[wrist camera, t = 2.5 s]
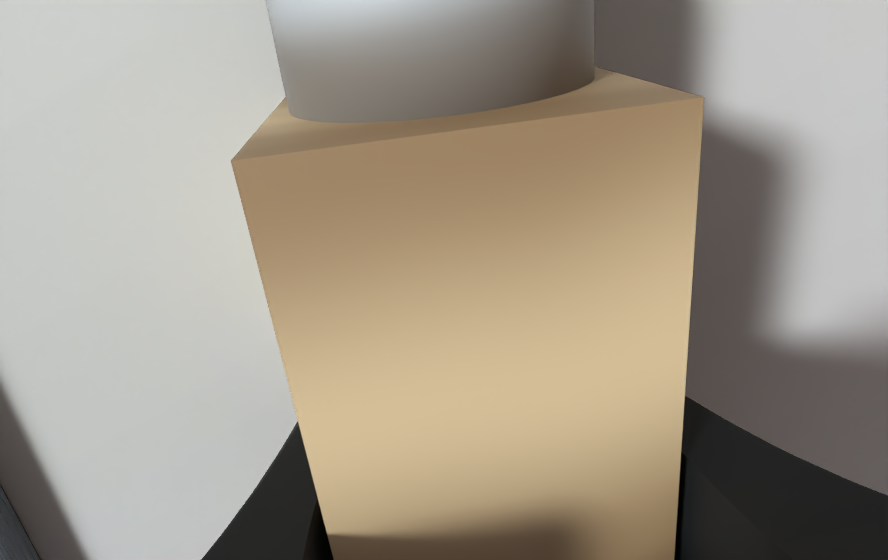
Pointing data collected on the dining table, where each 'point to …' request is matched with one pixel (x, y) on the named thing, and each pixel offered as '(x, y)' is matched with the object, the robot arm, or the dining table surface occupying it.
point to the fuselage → (477, 277)
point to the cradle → (13, 535)
